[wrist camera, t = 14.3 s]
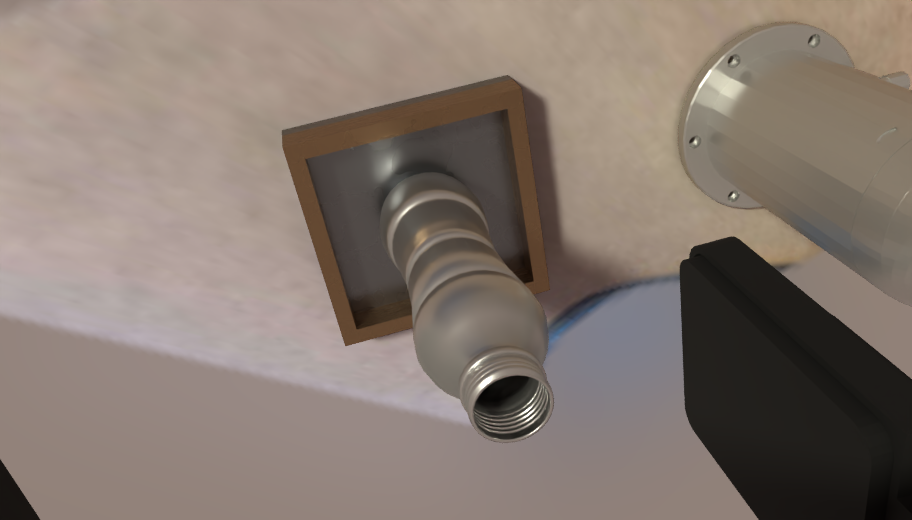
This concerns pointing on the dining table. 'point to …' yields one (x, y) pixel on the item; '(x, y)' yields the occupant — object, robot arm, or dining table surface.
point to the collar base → (396, 158)
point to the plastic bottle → (468, 307)
